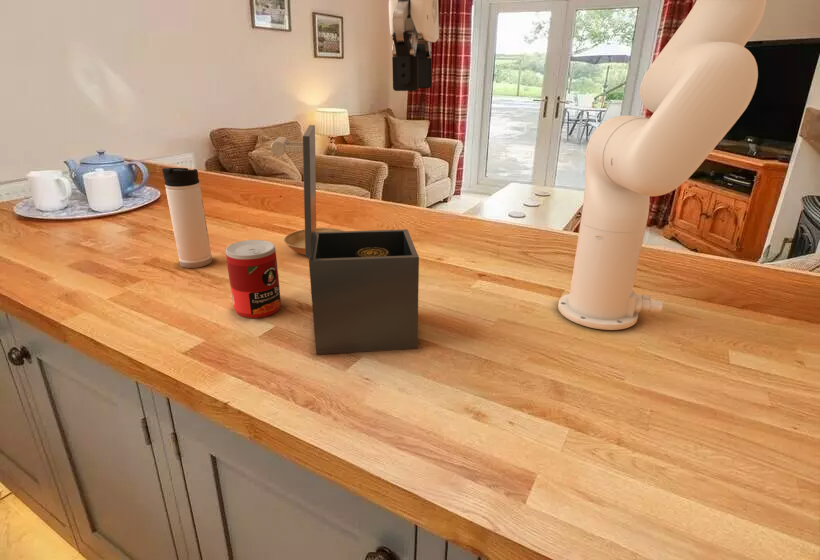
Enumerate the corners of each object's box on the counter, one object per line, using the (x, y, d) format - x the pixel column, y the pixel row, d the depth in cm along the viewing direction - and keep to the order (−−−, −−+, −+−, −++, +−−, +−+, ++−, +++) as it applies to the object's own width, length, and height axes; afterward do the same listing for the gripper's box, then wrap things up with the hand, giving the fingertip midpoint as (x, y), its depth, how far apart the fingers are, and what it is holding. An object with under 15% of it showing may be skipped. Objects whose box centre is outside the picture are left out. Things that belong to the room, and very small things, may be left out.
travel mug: (171, 266, 100) (152, 167, 92) (195, 256, 106) (179, 162, 98) (195, 270, 98) (177, 170, 90) (218, 260, 104) (204, 164, 96)
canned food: (257, 323, 78) (248, 258, 74) (223, 311, 82) (214, 249, 78) (291, 305, 84) (285, 245, 80) (259, 294, 88) (251, 236, 84)
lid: (315, 125, 70) (278, 123, 69) (309, 136, 58) (265, 134, 57) (316, 229, 76) (282, 228, 75) (311, 257, 64) (271, 257, 63)
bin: (407, 310, 83) (407, 229, 77) (417, 348, 72) (419, 257, 66) (319, 314, 81) (313, 231, 76) (316, 354, 70) (308, 261, 64)
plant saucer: (275, 257, 105) (273, 246, 104) (297, 236, 119) (296, 226, 118) (342, 261, 104) (341, 249, 103) (357, 239, 117) (356, 228, 116)
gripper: (430, -81, 52) (429, 92, 59) (452, -47, 68) (449, 87, 74) (362, -76, 54) (369, 92, 60) (399, -44, 69) (401, 87, 76)
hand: (413, 89), depth 67 cm, fingers open, 9 cm apart
